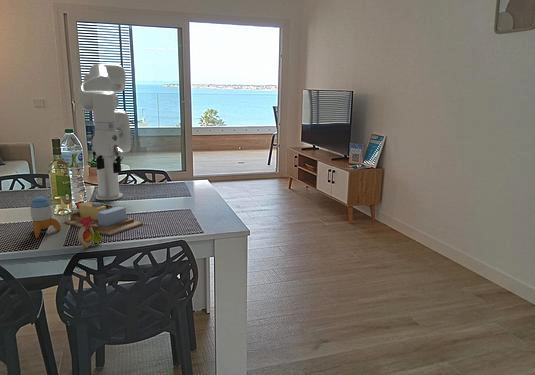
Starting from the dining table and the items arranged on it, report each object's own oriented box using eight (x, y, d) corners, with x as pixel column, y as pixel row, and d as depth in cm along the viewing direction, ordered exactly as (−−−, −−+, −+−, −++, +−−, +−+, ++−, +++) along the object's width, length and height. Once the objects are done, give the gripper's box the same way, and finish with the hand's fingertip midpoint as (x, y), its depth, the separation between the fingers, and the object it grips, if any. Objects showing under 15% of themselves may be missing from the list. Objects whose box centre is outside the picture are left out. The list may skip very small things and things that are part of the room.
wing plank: (98, 227, 165) (97, 212, 163) (119, 220, 173) (118, 206, 172) (105, 228, 163) (104, 214, 161) (126, 222, 171) (125, 207, 169)
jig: (64, 222, 172) (63, 215, 171) (98, 213, 185) (97, 206, 184) (109, 236, 157) (109, 228, 157) (143, 224, 170) (142, 217, 170)
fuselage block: (80, 217, 176) (78, 201, 174) (88, 215, 179) (87, 199, 177) (98, 222, 169) (97, 205, 168) (107, 220, 173) (105, 203, 171)
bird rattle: (95, 254, 146) (106, 236, 153) (85, 230, 139) (97, 212, 146) (78, 253, 147) (90, 235, 154) (67, 229, 140) (80, 212, 147)
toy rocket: (40, 241, 154) (25, 203, 150) (25, 240, 160) (10, 203, 156) (65, 229, 162) (51, 193, 158) (50, 229, 168) (36, 193, 164)
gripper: (129, 127, 157) (132, 172, 162) (99, 123, 166) (102, 165, 171) (112, 129, 151) (115, 175, 156) (82, 125, 160) (86, 169, 165)
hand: (108, 170), depth 163 cm, fingers open, 9 cm apart
